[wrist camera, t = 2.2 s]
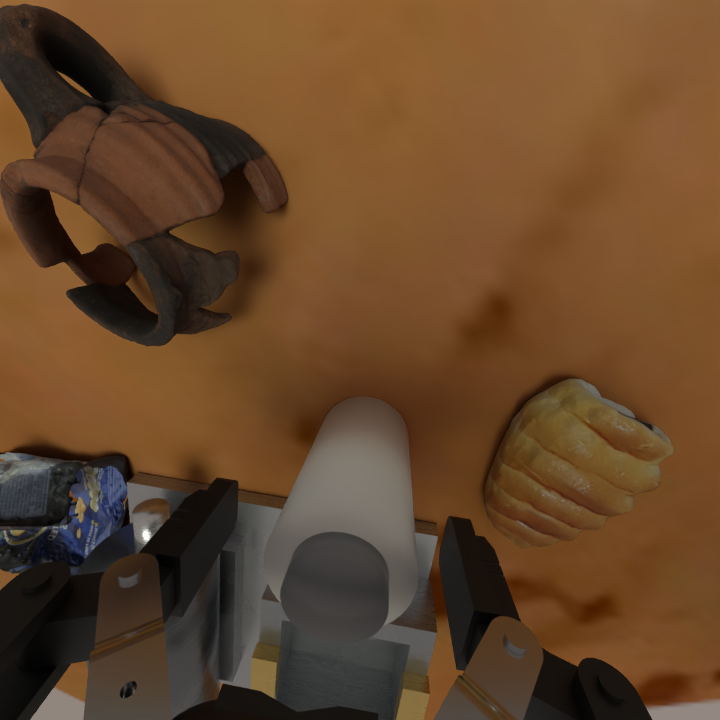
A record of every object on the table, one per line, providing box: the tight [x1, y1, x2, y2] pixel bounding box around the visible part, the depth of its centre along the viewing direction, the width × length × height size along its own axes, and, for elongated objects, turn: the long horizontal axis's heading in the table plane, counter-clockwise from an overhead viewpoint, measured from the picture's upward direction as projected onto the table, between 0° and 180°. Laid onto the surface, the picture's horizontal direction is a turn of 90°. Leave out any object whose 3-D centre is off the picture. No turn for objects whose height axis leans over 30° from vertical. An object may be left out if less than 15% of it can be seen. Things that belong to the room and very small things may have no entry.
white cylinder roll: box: [263, 396, 418, 644], centre depth 15 cm, size 5×5×10 cm
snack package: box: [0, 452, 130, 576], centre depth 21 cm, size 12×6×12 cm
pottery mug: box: [0, 4, 288, 346], centre depth 15 cm, size 12×10×8 cm
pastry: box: [484, 379, 674, 548], centre depth 17 cm, size 9×7×4 cm
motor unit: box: [77, 473, 438, 720], centre depth 20 cm, size 19×18×7 cm
